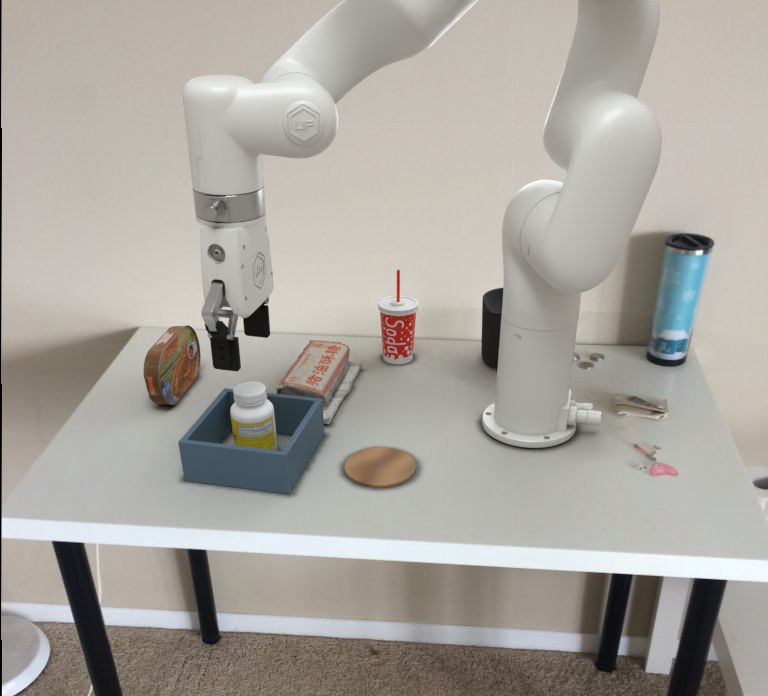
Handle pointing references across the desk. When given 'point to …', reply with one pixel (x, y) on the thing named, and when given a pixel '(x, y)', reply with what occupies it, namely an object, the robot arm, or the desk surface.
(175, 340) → the tin
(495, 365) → the pen holder
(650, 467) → the desk surface
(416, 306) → the beverage cup
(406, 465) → the coaster
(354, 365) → the packaged product
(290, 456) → the open box
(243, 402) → the supplement bottle
